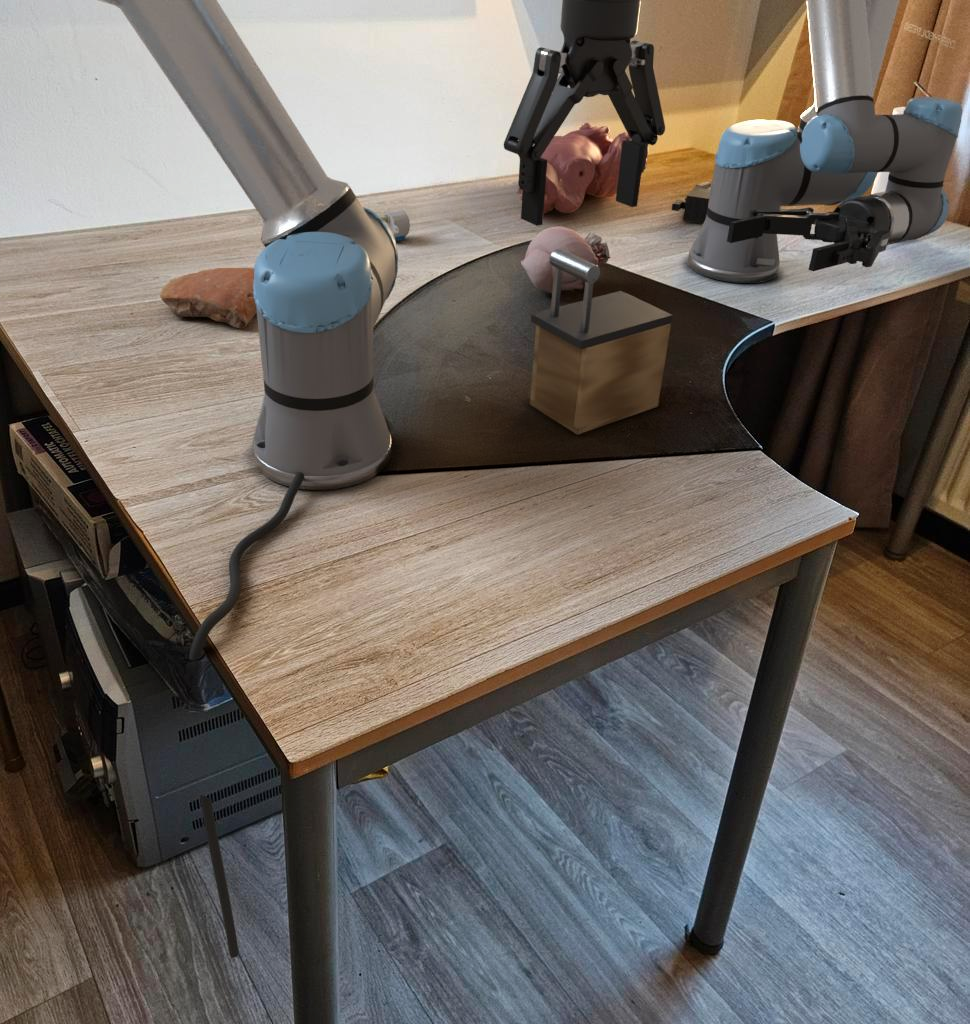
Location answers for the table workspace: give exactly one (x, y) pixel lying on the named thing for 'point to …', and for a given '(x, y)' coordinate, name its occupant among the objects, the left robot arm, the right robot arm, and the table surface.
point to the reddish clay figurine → (581, 167)
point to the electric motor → (397, 223)
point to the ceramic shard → (213, 295)
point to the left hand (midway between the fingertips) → (580, 212)
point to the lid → (594, 308)
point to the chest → (597, 378)
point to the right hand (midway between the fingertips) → (770, 245)
